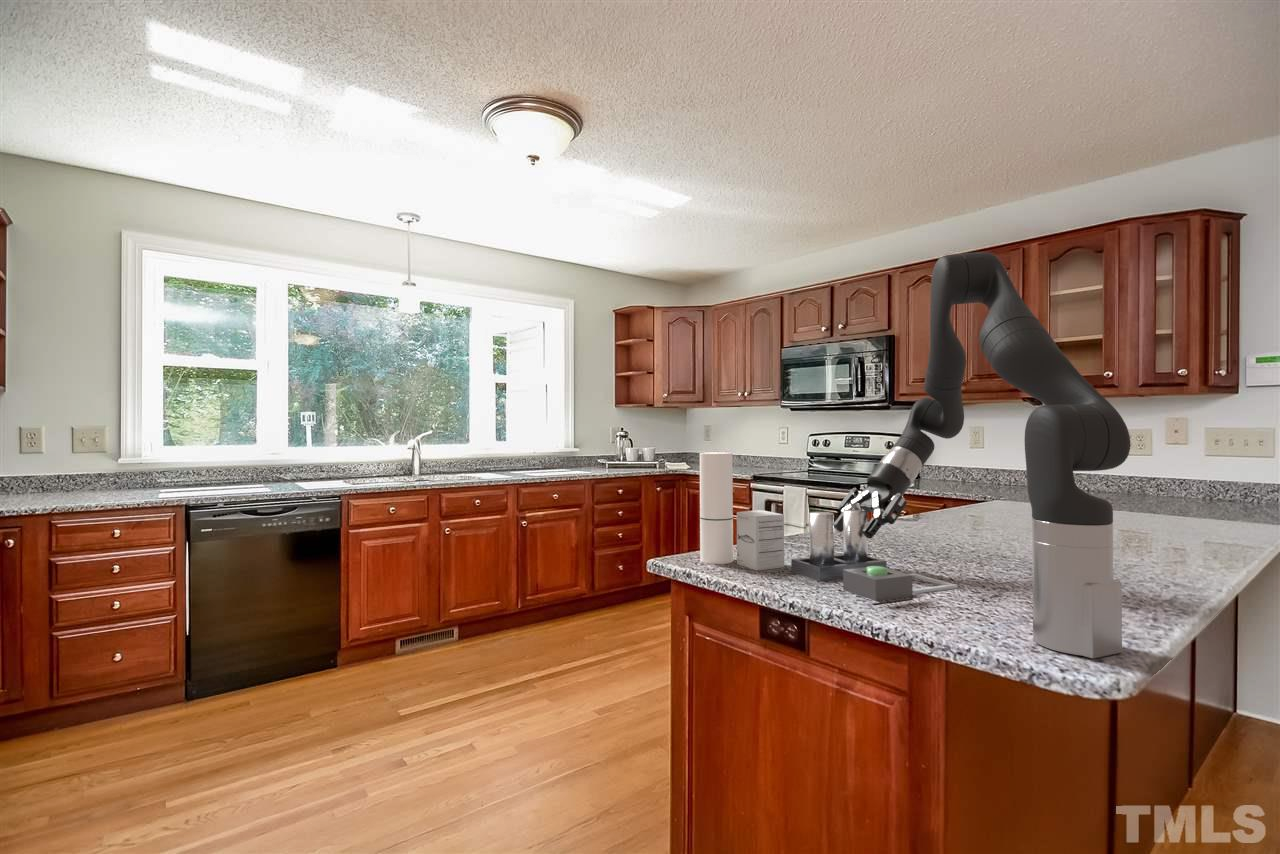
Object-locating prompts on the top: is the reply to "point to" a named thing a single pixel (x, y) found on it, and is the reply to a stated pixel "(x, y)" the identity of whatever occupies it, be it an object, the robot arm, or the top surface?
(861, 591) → the block
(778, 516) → the supplement box
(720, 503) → the cylindrical container
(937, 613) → the top surface
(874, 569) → the button
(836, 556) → the double-well grey tray
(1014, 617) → the top surface
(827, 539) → the cylinder
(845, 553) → the cylinder
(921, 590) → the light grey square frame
